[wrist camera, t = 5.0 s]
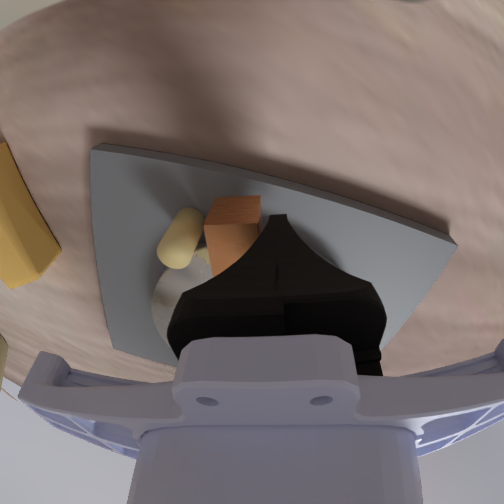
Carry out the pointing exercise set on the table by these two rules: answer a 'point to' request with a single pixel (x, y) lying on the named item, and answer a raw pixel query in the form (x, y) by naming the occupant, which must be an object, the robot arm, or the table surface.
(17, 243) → the rubber stamp
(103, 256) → the base board
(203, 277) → the flange plate
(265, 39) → the table surface
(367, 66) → the table surface
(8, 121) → the table surface
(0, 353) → the plant pot
